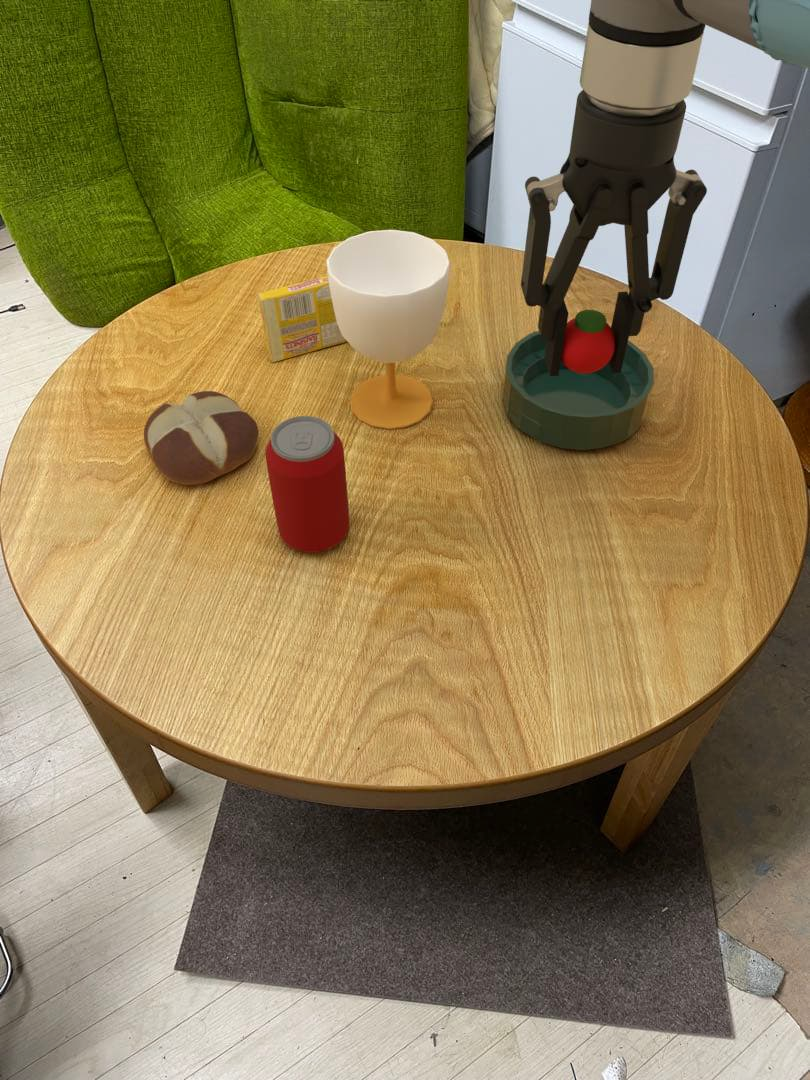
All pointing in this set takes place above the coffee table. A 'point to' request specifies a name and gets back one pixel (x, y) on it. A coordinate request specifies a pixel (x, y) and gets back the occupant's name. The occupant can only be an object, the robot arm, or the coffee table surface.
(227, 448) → the bread
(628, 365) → the bowl
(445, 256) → the cup
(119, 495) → the coffee table surface
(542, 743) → the coffee table surface
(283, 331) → the candy box
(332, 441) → the beverage can
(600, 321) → the tomato
